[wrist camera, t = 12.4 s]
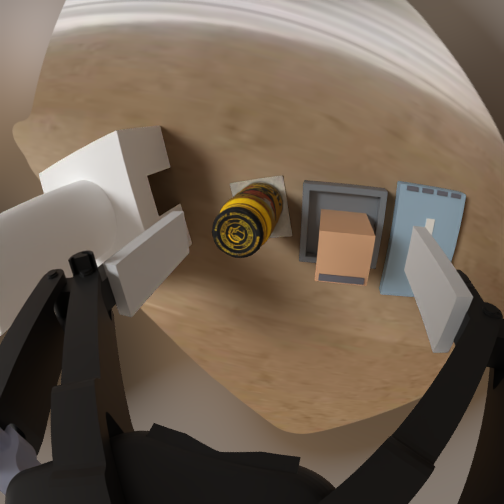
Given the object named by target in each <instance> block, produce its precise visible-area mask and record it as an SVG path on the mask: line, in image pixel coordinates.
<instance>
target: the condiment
mask: <svg viewBox="0 0 504 504" xmlns="http://www.w3.org/2000/svg"><path fill="white" fill-rule="evenodd" d="M230 187H231V191H232V196H233V198H231V199H230V200H229V201H228V202H227V203H226V204H224V206H223V207H222V209H221V211H220V213H219V215H217V217H216V218H215V221H214V223H213V229H212V235H213V238H214V242H215V244H216V245H217V247H218V248H219V249H220V250H221V251H223V252H224V253H226V254H228V255H230V256H232V257H235V258H244V257H248V256H250V255H253V254H254V253H255V252H256V251H257V250H259V249H260V247H261V246H262V245H263V244H264V243H265V242H266V241H267V240H268V238H276V237H288V236H292V230H291V224H290V217H289V211H288V204H287V198H286V192H285V186H284V181H283V176H275V177H268V178H261V179H254V180H247V181H241V182H235V183H230Z"/></svg>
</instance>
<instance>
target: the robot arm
mask: <svg viewBox="0 0 504 504" xmlns="http://www.w3.org/2000/svg"><path fill="white" fill-rule="evenodd" d="M188 254H189V246H188V239H187V232H186V224H185V217H184V211H172V212H171V213H170V214H168V215H167V216H165V217H164V218H162V219H161V220H160V221H158V222H157V223H156V224H154V225H153V226H151V227H150V228H149V229H147V230H146V231H145V232H143V233H142V234H140V235H139V236H138V237H136V238H135V239H134V240H132V241H131V242H130V243H128V244H127V245H126V246H125V247H123V248H121V249H120V250H119V251H118V252H116V253H115V254H114V255H112V256H111V257H110V258H109V259H107V260H106V261H105V262H104V263H102V264H101V265H100V266H99V267H97V263H96V260H95V256H94V253H93V251H89V250H86V251H81V252H78V253H76V254H74V255H72V256H71V257H70V258H69V260H68V261H69V265H70V268H71V271H72V273H73V277H71V278H66V276H65V274H64V271H63V270H62V269H55V270H54V269H53V270H50V271H48V273H46V274H45V275H44V276H43V277H42V278H41V280H40V281H39V283H38V284H37V286H36V287H35V288H34V290H33V291H32V293H31V294H30V296H29V297H28V299H27V301H26V302H25V304H24V305H23V307H22V308H21V310H20V312H19V313H18V315H17V316H16V318H15V320H14V321H13V323H12V325H11V327H10V328H9V330H8V332H7V334H6V336H5V337H4V339H3V341H2V343H1V345H0V491H1V492H2V493H3V494H4V495H5V496H6V498H5V504H408V503H409V502H410V501H411V500H412V498H413V497H414V496H415V495H416V494H417V492H418V491H419V490H420V489H421V487H422V486H423V485H424V483H425V482H426V481H427V479H428V478H429V477H430V475H431V474H432V472H433V470H434V468H435V466H434V463H435V461H436V460H437V458H438V456H439V455H440V453H441V452H442V450H443V449H444V448H445V446H446V444H447V443H448V441H449V440H450V438H451V436H452V435H453V433H454V431H455V430H456V428H457V426H458V424H459V422H460V421H461V419H462V417H463V415H464V413H465V411H466V409H467V407H468V405H469V404H470V402H471V399H472V398H473V395H474V393H475V391H476V389H477V387H478V384H479V382H480V380H481V378H482V375H483V373H484V371H485V368H486V367H490V372H489V381H488V390H487V397H486V403H485V410H484V416H483V421H482V426H481V430H480V435H479V439H478V443H477V447H476V451H475V454H474V458H473V461H472V465H471V468H470V471H469V474H468V477H467V480H466V483H465V486H464V489H463V491H462V494H461V496H460V499H459V501H458V504H504V319H503V316H502V313H501V311H500V310H499V309H498V308H497V307H496V306H494V305H493V304H490V303H487V302H484V301H483V300H482V298H481V297H480V295H479V293H478V292H477V290H476V289H475V287H474V286H473V284H472V283H471V281H470V280H469V278H468V277H467V275H465V274H464V273H463V272H462V271H460V270H456V269H455V268H454V266H453V265H452V263H451V262H450V260H449V259H448V257H447V256H446V254H445V253H444V252H443V250H442V249H441V247H440V246H439V245H438V243H437V242H436V241H435V239H434V238H433V237H432V235H431V234H430V233H429V231H428V230H427V229H426V227H419V226H413V229H412V235H411V240H410V245H409V250H408V255H407V259H406V264H405V268H404V271H405V274H406V276H407V279H408V281H409V284H410V286H411V289H412V292H413V294H414V297H415V300H416V302H417V305H418V308H419V311H420V313H421V316H422V319H423V322H424V325H425V328H426V331H427V335H428V338H429V341H430V344H431V348H432V351H433V353H442V352H449V350H450V348H451V346H452V344H453V342H454V343H455V348H454V350H453V351H452V353H451V355H450V356H449V358H448V360H447V361H446V363H445V364H444V366H443V368H442V369H441V371H440V372H439V374H438V375H437V377H436V378H435V380H434V381H433V383H432V384H431V386H430V387H429V389H428V390H427V391H426V393H425V394H424V396H423V397H422V398H421V400H420V401H419V403H418V404H417V405H416V406H415V408H414V409H413V410H412V412H411V413H410V414H409V415H408V417H407V418H406V419H405V420H404V422H403V423H402V424H401V425H400V426H399V428H398V429H397V430H396V431H395V432H394V433H393V434H392V436H390V437H389V438H388V439H387V440H386V441H385V442H384V443H383V444H382V445H381V446H380V447H379V448H378V449H377V450H376V452H375V453H374V454H373V455H372V456H371V457H370V458H369V459H368V460H367V461H366V462H365V463H364V464H363V465H362V466H360V468H358V469H357V470H356V471H355V472H354V473H353V474H352V475H351V476H350V477H349V478H348V479H346V480H345V481H344V482H343V483H342V484H341V485H340V486H338V487H337V488H336V489H335V487H334V486H333V485H332V484H331V483H330V482H328V481H327V480H326V479H325V478H323V477H322V476H321V475H319V474H317V473H316V472H314V471H312V470H309V469H307V468H305V467H302V466H299V462H300V457H295V456H287V455H279V454H272V453H266V452H219V451H216V450H214V449H212V448H210V447H208V446H206V445H205V444H203V443H201V442H199V441H198V440H196V439H194V438H192V437H191V436H189V435H187V434H185V433H182V432H178V431H176V430H172V429H169V428H167V427H164V426H161V425H158V424H155V423H154V424H153V426H152V428H151V429H150V431H134V429H133V426H132V423H131V419H130V415H129V410H128V406H127V401H126V396H125V391H124V386H123V381H122V374H121V368H120V362H119V355H118V348H117V340H116V332H115V323H114V314H113V311H112V309H111V308H112V307H113V306H114V305H115V304H116V306H117V308H118V311H119V314H121V315H125V316H129V317H132V316H133V315H134V314H135V313H136V312H137V311H138V309H139V308H140V307H141V306H142V305H143V304H144V303H145V301H146V300H147V299H148V298H149V297H150V296H151V295H152V294H153V292H154V291H155V290H156V289H157V288H158V287H159V286H160V285H161V283H162V282H163V281H164V280H165V279H166V278H167V277H168V276H169V275H170V273H171V272H172V271H173V270H174V269H175V268H176V267H177V266H178V265H179V264H180V263H181V261H182V260H183V259H184V258H185V257H186V256H187V255H188ZM54 311H55V312H54ZM55 313H56V315H55ZM61 370H62V378H61V385H59V386H57V382H58V379H59V376H60V373H61ZM50 409H51V443H52V457H53V461H50V462H47V463H44V464H41V463H40V462H39V461H38V460H37V455H38V452H39V450H40V447H41V444H42V442H43V438H44V434H45V430H46V426H47V421H48V417H49V412H50Z"/></svg>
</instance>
